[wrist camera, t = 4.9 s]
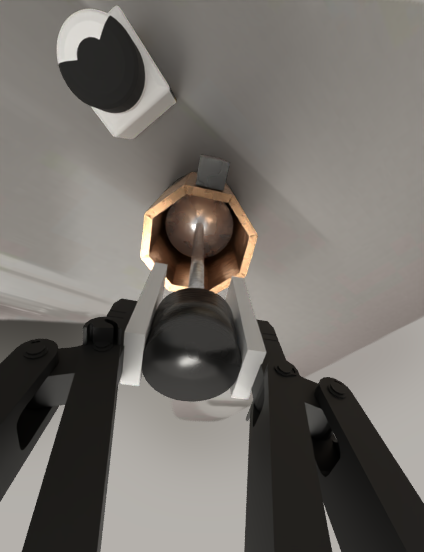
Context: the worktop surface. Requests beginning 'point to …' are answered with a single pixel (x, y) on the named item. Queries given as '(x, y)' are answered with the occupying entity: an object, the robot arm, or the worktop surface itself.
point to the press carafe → (215, 267)
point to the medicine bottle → (112, 71)
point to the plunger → (194, 312)
